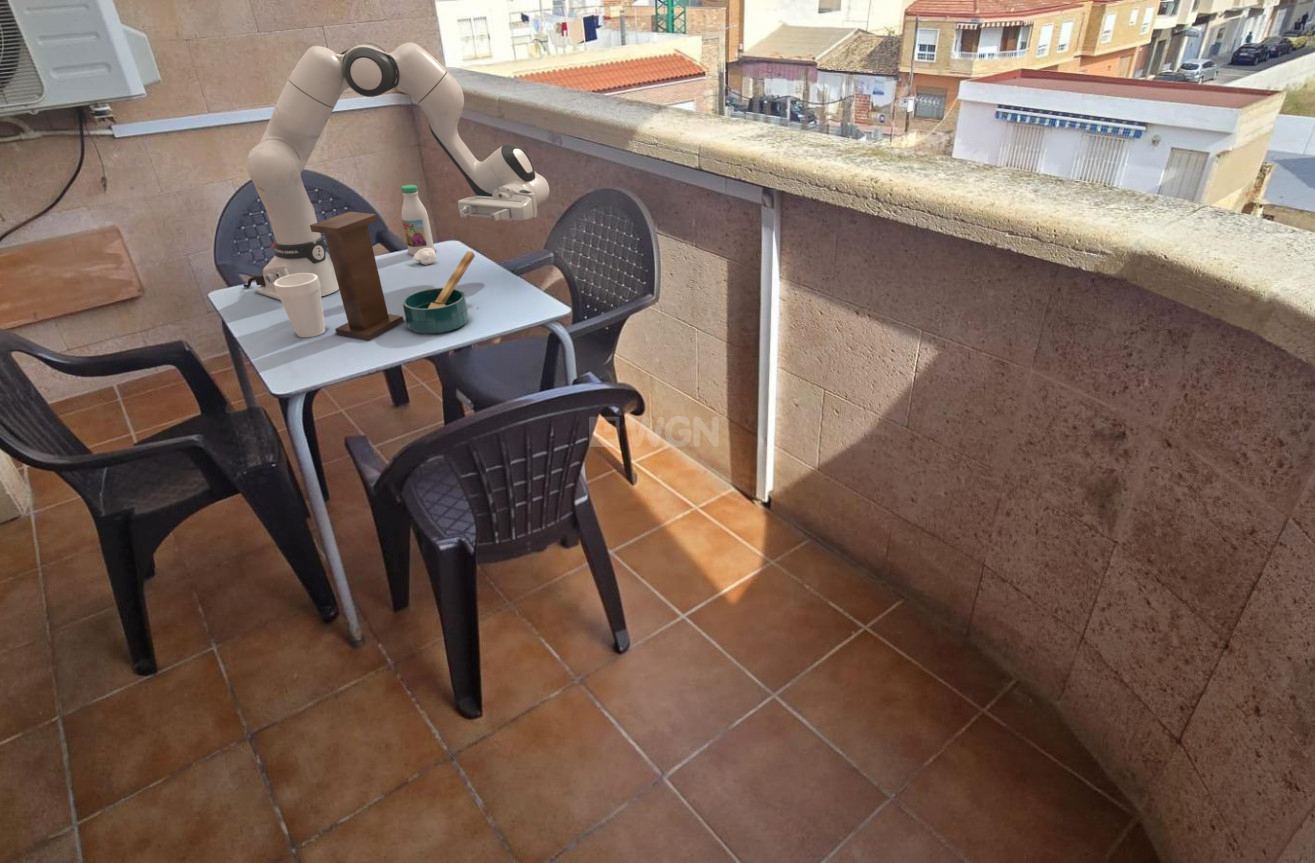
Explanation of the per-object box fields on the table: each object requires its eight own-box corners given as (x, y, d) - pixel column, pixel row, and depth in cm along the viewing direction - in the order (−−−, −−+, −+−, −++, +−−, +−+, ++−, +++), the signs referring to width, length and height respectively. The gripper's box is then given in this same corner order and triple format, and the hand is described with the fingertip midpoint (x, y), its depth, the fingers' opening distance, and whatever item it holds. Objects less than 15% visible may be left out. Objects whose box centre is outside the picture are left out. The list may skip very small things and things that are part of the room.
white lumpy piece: (439, 260, 220) (438, 248, 217) (433, 269, 216) (432, 257, 213) (417, 256, 220) (415, 244, 217) (410, 264, 216) (409, 253, 213)
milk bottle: (420, 247, 231) (407, 182, 221) (439, 250, 228) (427, 184, 218) (403, 254, 225) (389, 187, 215) (423, 257, 222) (409, 189, 212)
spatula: (465, 254, 184) (462, 250, 183) (479, 256, 182) (476, 252, 181) (419, 327, 173) (416, 323, 172) (433, 329, 172) (430, 325, 171)
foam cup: (316, 341, 169) (301, 287, 163) (281, 338, 171) (264, 285, 164) (339, 325, 177) (325, 273, 171) (306, 323, 179) (290, 272, 172)
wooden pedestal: (336, 334, 172) (306, 224, 159) (372, 316, 182) (346, 211, 168) (369, 340, 169) (340, 228, 155) (403, 321, 178) (380, 214, 165)
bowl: (395, 330, 173) (389, 304, 170) (433, 309, 185) (429, 284, 181) (444, 339, 168) (438, 312, 165) (480, 316, 180) (476, 291, 176)
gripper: (474, 187, 195) (441, 199, 184) (539, 193, 188) (509, 206, 177) (478, 211, 198) (446, 224, 188) (542, 217, 191) (513, 231, 180)
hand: (477, 215), depth 182 cm, fingers open, 8 cm apart
